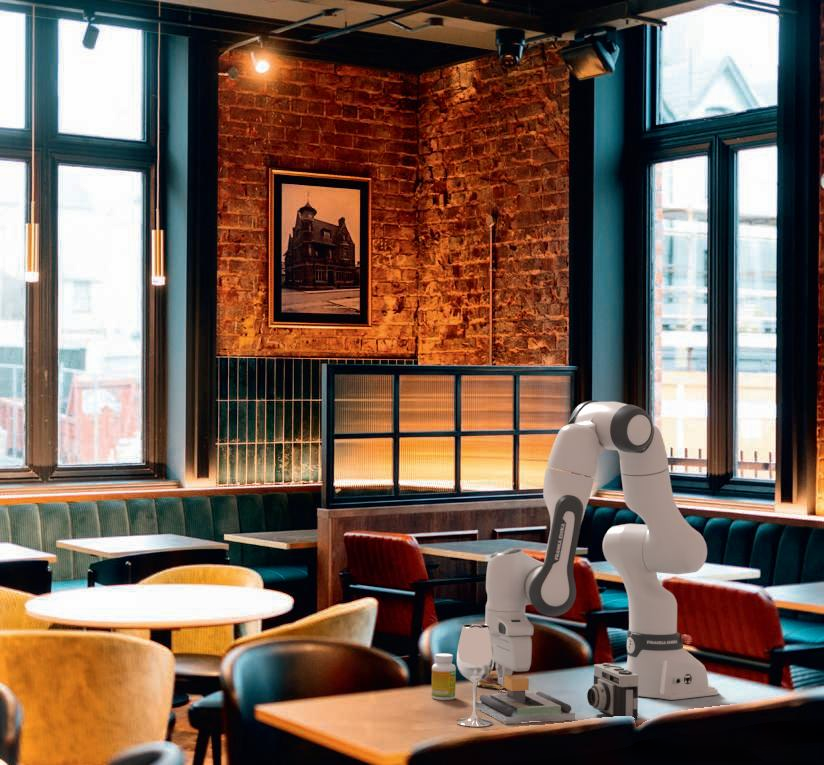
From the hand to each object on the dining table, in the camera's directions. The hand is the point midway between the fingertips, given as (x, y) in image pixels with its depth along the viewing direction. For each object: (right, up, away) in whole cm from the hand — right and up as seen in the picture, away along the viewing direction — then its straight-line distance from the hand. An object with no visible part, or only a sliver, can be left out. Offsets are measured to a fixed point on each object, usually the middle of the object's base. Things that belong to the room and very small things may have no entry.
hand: (504, 684), depth 293 cm
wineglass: (-8, -4, -20) cm, 22 cm away
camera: (+22, -5, -9) cm, 24 cm away
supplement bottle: (-13, -4, +4) cm, 15 cm away
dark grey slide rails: (+4, -2, -11) cm, 12 cm away
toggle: (+2, -2, -6) cm, 7 cm away
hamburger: (0, -5, +18) cm, 19 cm away
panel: (+4, -4, -11) cm, 12 cm away
